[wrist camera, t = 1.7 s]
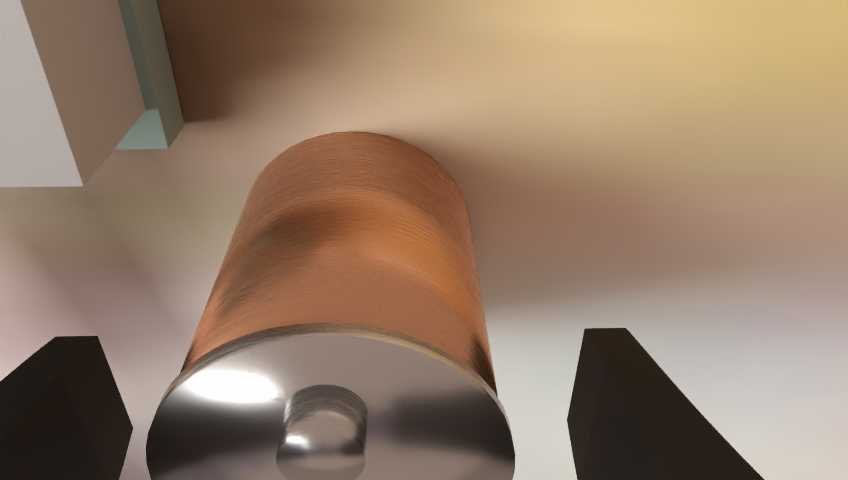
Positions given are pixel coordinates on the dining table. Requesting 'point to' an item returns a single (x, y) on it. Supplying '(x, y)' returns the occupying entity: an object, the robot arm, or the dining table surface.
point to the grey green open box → (81, 87)
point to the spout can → (340, 332)
